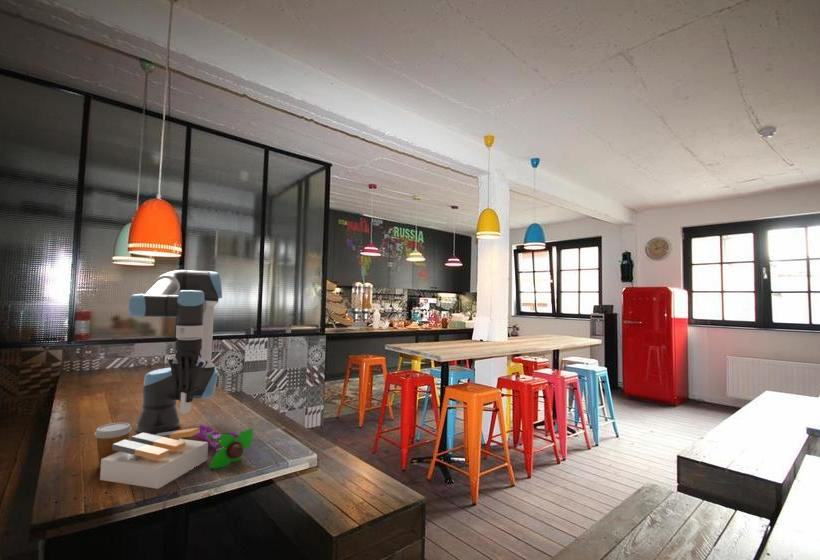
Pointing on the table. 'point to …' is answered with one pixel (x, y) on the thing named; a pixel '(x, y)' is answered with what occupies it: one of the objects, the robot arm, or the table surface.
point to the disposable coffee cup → (110, 438)
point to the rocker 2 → (180, 433)
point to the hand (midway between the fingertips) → (185, 412)
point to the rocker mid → (159, 441)
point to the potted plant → (227, 445)
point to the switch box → (153, 466)
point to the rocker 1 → (140, 449)
